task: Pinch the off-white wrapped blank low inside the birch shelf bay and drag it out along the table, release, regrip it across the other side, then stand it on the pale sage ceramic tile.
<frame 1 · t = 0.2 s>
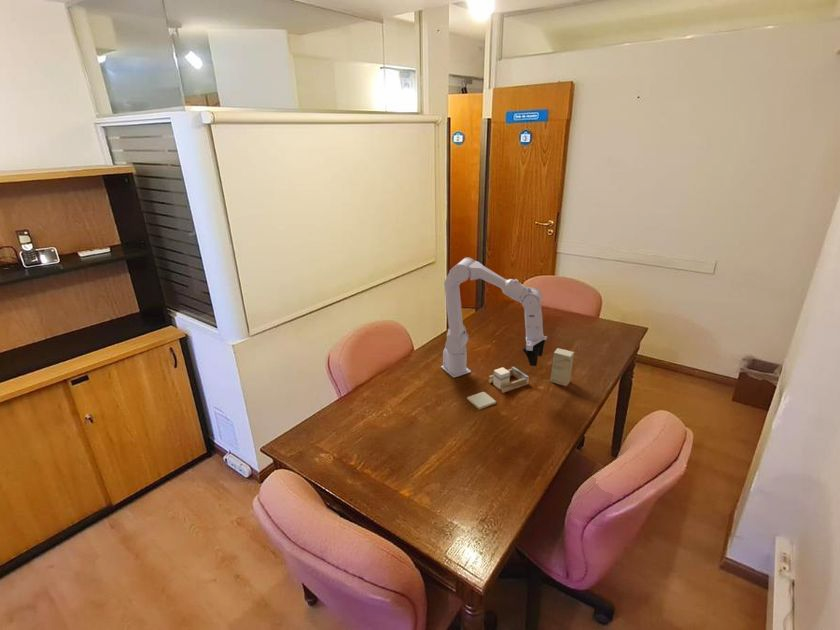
hand: (536, 360, 155), 10 cm above the table, tool pointing down, fingers open, 7 cm apart
shelf bay: (503, 384, 160), on the table
blank: (501, 385, 160), on the table
stand tile: (481, 401, 151), on the table
skincare box: (560, 382, 161), on the table
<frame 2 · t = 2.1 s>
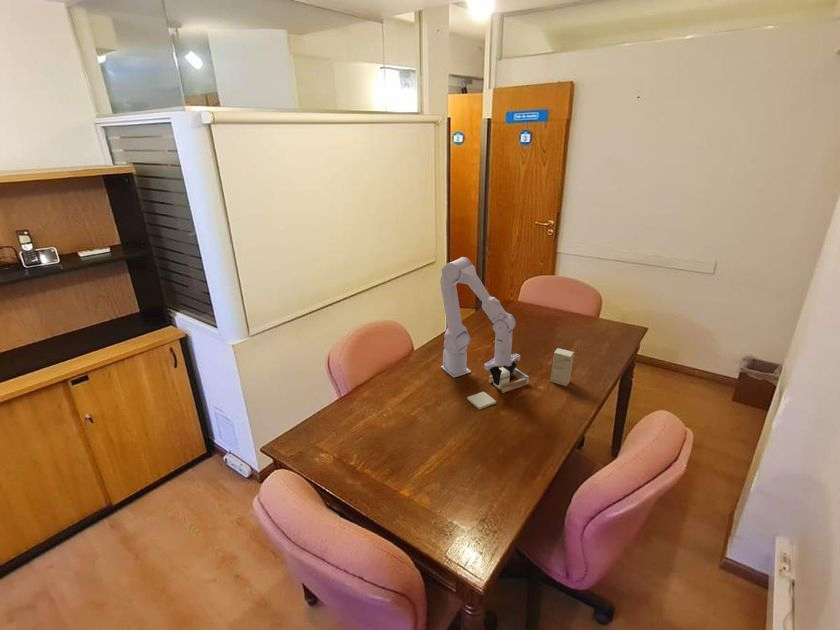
hand: (501, 382, 159), 1 cm above the table, tool pointing down, fingers closed on blank, 4 cm apart
blank: (501, 385, 160), on the table, touching gripper
everything else where it was.
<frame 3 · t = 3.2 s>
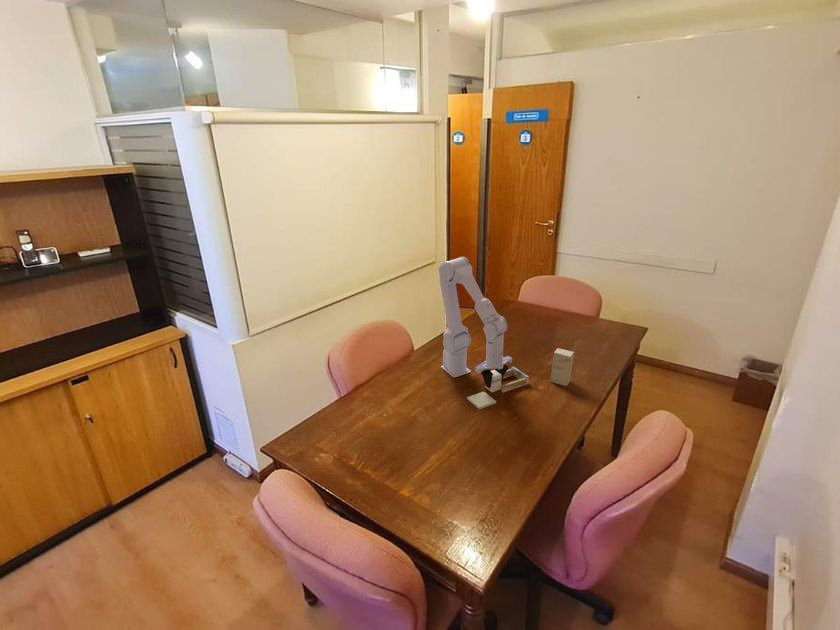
hand: (493, 384, 158), 1 cm above the table, tool pointing down, fingers closed on blank, 4 cm apart
blank: (492, 388, 158), on the table, touching gripper
everything else where it was.
when the fingers open (1 cm above the table, at t = 4.0 s): blank stays where it is, on the table.
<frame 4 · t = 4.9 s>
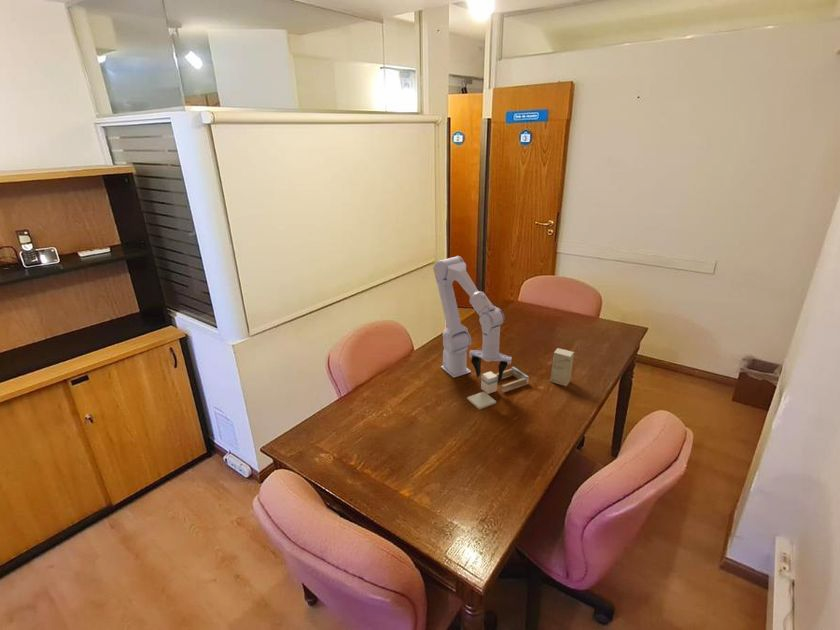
hand: (489, 377, 156), 5 cm above the table, tool pointing down, fingers open, 7 cm apart
blank: (488, 389, 158), on the table
everything else where it was.
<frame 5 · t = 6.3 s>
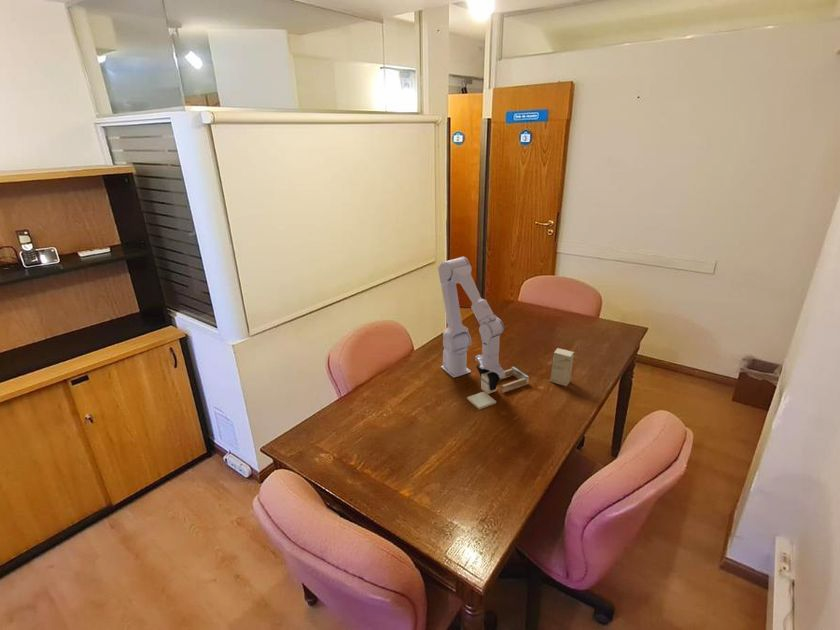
hand: (489, 386, 157), 1 cm above the table, tool pointing down, fingers closed on blank, 4 cm apart
blank: (488, 389, 157), on the table, touching gripper
everything else where it was.
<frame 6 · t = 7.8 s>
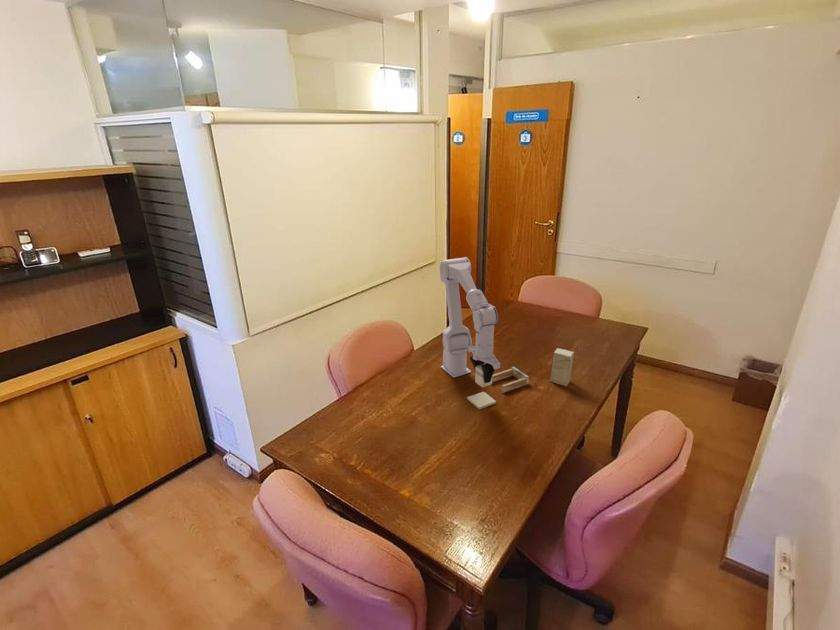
hand: (483, 378, 148), 8 cm above the table, tool pointing down, fingers closed on blank, 4 cm apart
blank: (483, 383, 149), point 7 cm above the table, touching gripper
everything else where it was.
when the fingers open (3 cm above the table, at t = 9.3 s): blank stays where it is, resting on stand tile.
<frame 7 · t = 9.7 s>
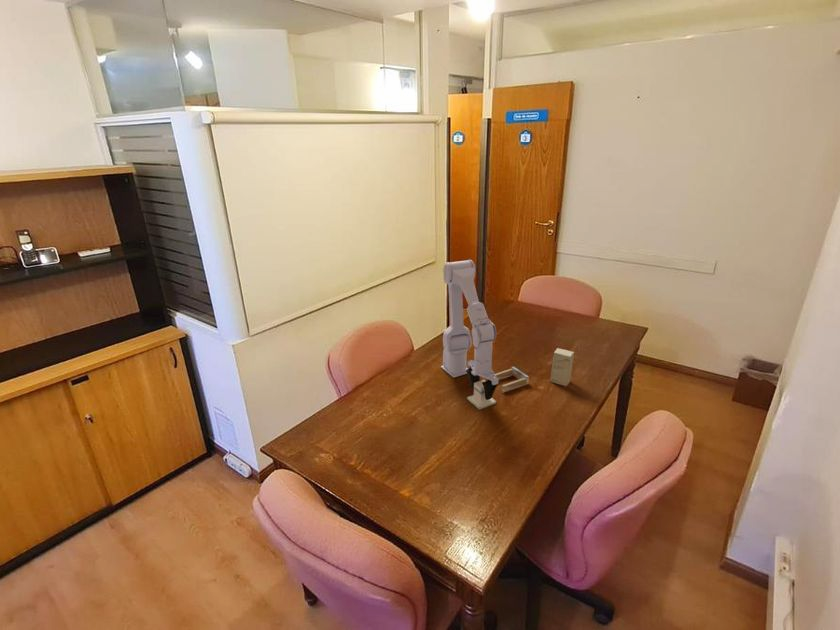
hand: (481, 393, 150), 3 cm above the table, tool pointing down, fingers open, 7 cm apart
blank: (481, 399, 151), point 1 cm above the table, touching stand tile
everything else where it was.
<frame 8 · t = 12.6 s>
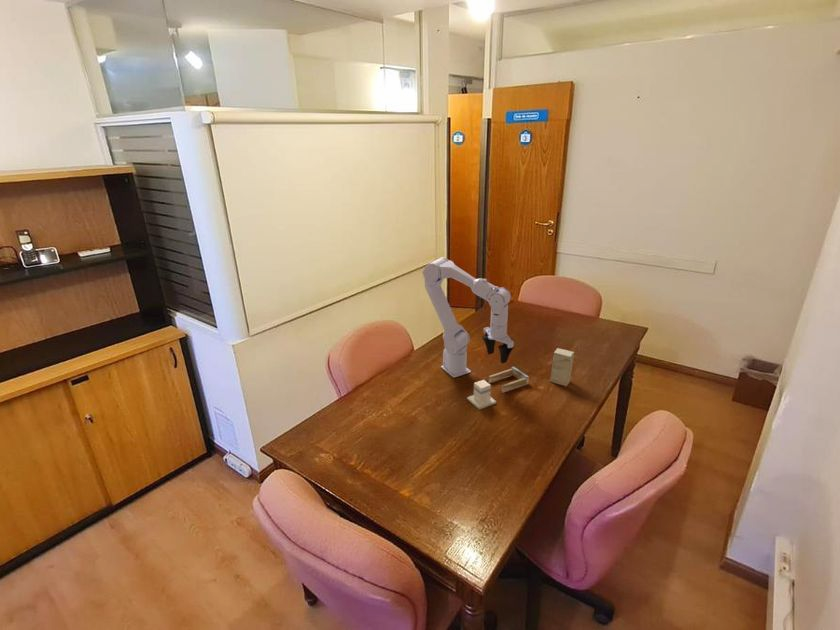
hand: (497, 357, 158), 10 cm above the table, tool pointing down, fingers open, 7 cm apart
nothing on the table moved.
at the end: blank 0.1 cm off-centre on the stand tile, point 0.8 cm above the stand tile's base; blank tilted 0°; the gripper is holding nothing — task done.
